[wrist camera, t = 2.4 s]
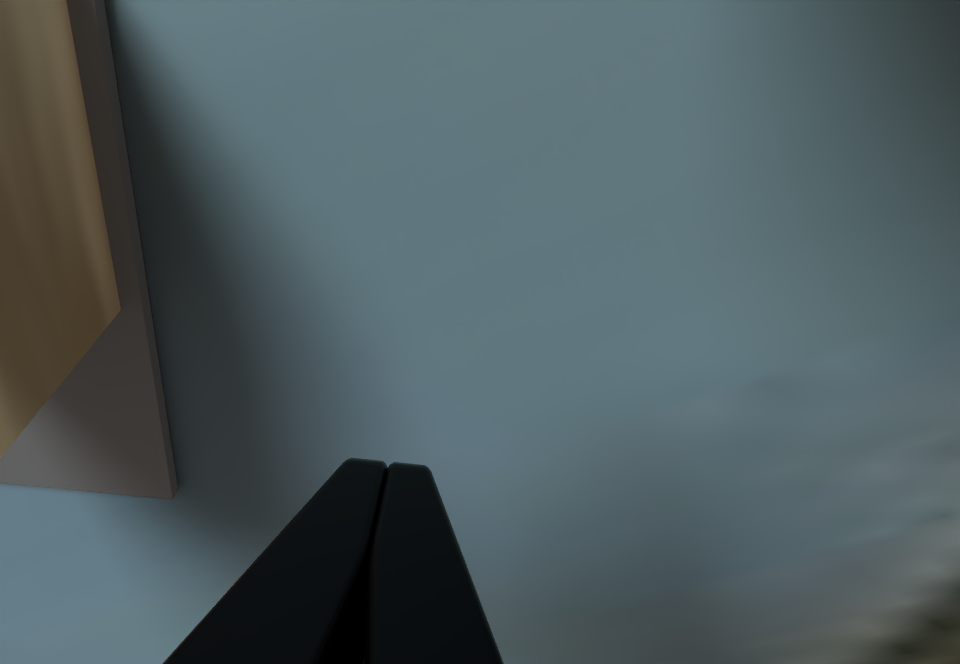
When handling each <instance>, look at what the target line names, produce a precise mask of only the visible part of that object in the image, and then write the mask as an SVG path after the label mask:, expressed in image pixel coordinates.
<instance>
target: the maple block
mask: <svg viewBox="0 0 960 664" xmlns="http://www.w3.org/2000/svg"><path fill="white" fill-rule="evenodd" d="M120 310H121V307H120V302H119V296H118V290H117V285H116V279H115V273H114V268H113V262H112V256H111V251H110V245H109V239H108V234H107V228H106V222H105V217H104V211H103V205H102V200H101V194H100V188H99V183H98V177H97V171H96V166H95V160H94V154H93V149H92V143H91V137H90V132H89V126H88V120H87V115H86V109H85V103H84V98H83V92H82V86H81V81H80V75H79V69H78V64H77V58H76V52H75V47H74V41H73V35H72V30H71V24H70V18H69V13H68V7H67V1H66V0H0V458H1V457H2V456H3V455H4V453H5V452H6V451H7V450H8V448H9V447H10V446H11V445H12V444H13V442H14V441H15V440H16V439H17V437H18V436H19V435H20V434H21V432H22V431H23V430H24V429H25V427H26V426H27V425H28V424H29V423H30V421H31V420H32V419H33V418H34V416H35V415H36V414H37V413H38V411H39V410H40V409H41V408H42V407H43V405H44V404H45V403H46V402H47V400H48V399H49V398H50V397H51V395H52V394H53V393H54V392H55V391H56V389H57V388H58V387H59V386H60V384H61V383H62V382H63V381H64V379H65V378H66V377H67V376H68V375H69V373H70V372H71V371H72V370H73V368H74V367H75V366H76V365H77V363H78V362H79V361H80V360H81V358H82V357H83V356H84V355H85V354H86V352H87V351H88V350H89V349H90V347H91V346H92V345H93V344H94V342H95V341H96V340H97V339H98V338H99V336H100V335H101V334H102V333H103V331H104V330H105V329H106V328H107V326H108V325H109V324H110V323H111V322H112V320H113V319H114V318H115V317H116V315H117V314H118V313H119V312H120Z"/></svg>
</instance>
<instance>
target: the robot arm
mask: <svg viewBox="0 0 960 664" xmlns="http://www.w3.org/2000/svg"><path fill="white" fill-rule="evenodd" d="M163 664H504V663H503V661H502V658H501V655H500V653H499V650H498V647H497V645H496V642H495V639H494V637H493V634H492V631H491V629H490V626H489V624H488V621H487V618H486V616H485V613H484V610H483V608H482V605H481V602H480V600H479V597H478V594H477V592H476V589H475V586H474V584H473V581H472V578H471V576H470V573H469V571H468V568H467V565H466V563H465V560H464V557H463V555H462V552H461V549H460V547H459V544H458V541H457V539H456V536H455V533H454V531H453V528H452V525H451V523H450V520H449V517H448V515H447V512H446V510H445V507H444V504H443V502H442V499H441V496H440V494H439V491H438V488H437V486H436V483H435V480H434V478H433V475H432V473H431V471H430V469H429V468H428V467H427V466H425V465H418V464H408V463H398V462H394V463H392V464H390V466H389V467H387V465H386V463H384V462H383V461H378V460H368V459H358V458H350V459H348V460H346V461H345V462H344V463H343V464H342V465H341V466H340V467H339V468H338V469H337V470H336V471H335V472H334V474H333V475H332V476H331V477H330V478H329V479H328V480H327V481H326V482H325V484H324V485H323V486H322V487H321V488H320V489H319V490H318V491H317V492H316V494H315V495H314V496H313V497H312V498H311V499H310V500H309V501H308V502H307V504H306V505H305V506H304V507H303V508H302V509H301V510H300V511H299V512H298V514H297V515H296V516H295V517H294V518H293V519H292V520H291V521H290V522H289V524H288V525H287V526H286V527H285V528H284V529H283V530H282V531H281V532H280V534H279V535H278V536H277V537H276V538H275V539H274V540H273V541H272V543H271V544H270V545H269V546H268V547H267V548H266V549H265V550H264V551H263V553H262V554H261V555H260V556H259V557H258V558H257V559H256V560H255V561H254V563H253V564H252V565H251V566H250V567H249V568H248V569H247V570H246V571H245V573H244V574H243V575H242V576H241V577H240V578H239V579H238V580H237V581H236V583H235V584H234V585H233V586H232V587H231V588H230V589H229V590H228V591H227V593H226V594H225V595H224V596H223V597H222V598H221V599H220V600H219V601H218V603H217V604H216V605H215V606H214V607H213V608H212V609H211V610H210V612H209V613H208V614H207V615H206V616H205V617H204V618H203V619H202V620H201V622H200V623H199V624H198V625H197V626H196V627H195V628H194V629H193V630H192V632H191V633H190V634H189V635H188V636H187V637H186V638H185V639H184V640H183V642H182V643H181V644H180V645H179V646H178V647H177V648H176V649H175V650H174V652H173V653H172V654H171V655H170V656H169V657H168V658H167V659H166V660H165V662H164V663H163Z"/></svg>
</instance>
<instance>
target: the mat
mask: <svg viewBox="0 0 960 664" xmlns="http://www.w3.org/2000/svg"><path fill="white" fill-rule="evenodd" d="M66 1H67V7H68V13H69V18H70V24H71V30H72V35H73V41H74V47H75V52H76V58H77V64H78V69H79V75H80V81H81V86H82V92H83V98H84V103H85V109H86V115H87V120H88V126H89V132H90V137H91V143H92V149H93V154H94V160H95V166H96V171H97V177H98V183H99V188H100V194H101V200H102V205H103V211H104V217H105V222H106V228H107V234H108V239H109V245H110V251H111V256H112V262H113V268H114V273H115V279H116V285H117V290H118V296H119V302H120V307H121V310H120V312H119V313H118V314H117V315H116V317H115V318H114V319H113V320H112V322H111V323H110V324H109V325H108V326H107V328H106V329H105V330H104V331H103V333H102V334H101V335H100V336H99V338H98V339H97V340H96V341H95V342H94V344H93V345H92V346H91V347H90V349H89V350H88V351H87V352H86V354H85V355H84V356H83V357H82V358H81V360H80V361H79V362H78V363H77V365H76V366H75V367H74V368H73V370H72V371H71V372H70V373H69V375H68V376H67V377H66V378H65V379H64V381H63V382H62V383H61V384H60V386H59V387H58V388H57V389H56V391H55V392H54V393H53V394H52V395H51V397H50V398H49V399H48V400H47V402H46V403H45V404H44V405H43V407H42V408H41V409H40V410H39V411H38V413H37V414H36V415H35V416H34V418H33V419H32V420H31V421H30V423H29V424H28V425H27V426H26V427H25V429H24V430H23V431H22V432H21V434H20V435H19V436H18V437H17V439H16V440H15V441H14V442H13V444H12V445H11V446H10V447H9V448H8V450H7V451H6V452H5V453H4V455H3V456H2V457H1V458H0V483H6V484H17V485H27V486H37V487H48V488H58V489H69V490H79V491H89V492H100V493H110V494H120V495H131V496H141V497H152V498H162V499H172V500H173V498H174V496H175V494H176V492H177V490H178V485H177V479H176V472H175V465H174V459H173V452H172V445H171V439H170V432H169V426H168V419H167V412H166V406H165V399H164V392H163V386H162V379H161V373H160V366H159V359H158V353H157V346H156V339H155V333H154V326H153V320H152V313H151V306H150V300H149V293H148V286H147V280H146V273H145V267H144V260H143V253H142V247H141V240H140V233H139V227H138V220H137V214H136V207H135V200H134V194H133V187H132V180H131V174H130V167H129V161H128V154H127V147H126V141H125V134H124V127H123V121H122V114H121V108H120V101H119V94H118V88H117V81H116V74H115V68H114V61H113V55H112V48H111V41H110V35H109V28H108V21H107V15H106V8H105V2H104V0H66Z"/></svg>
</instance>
